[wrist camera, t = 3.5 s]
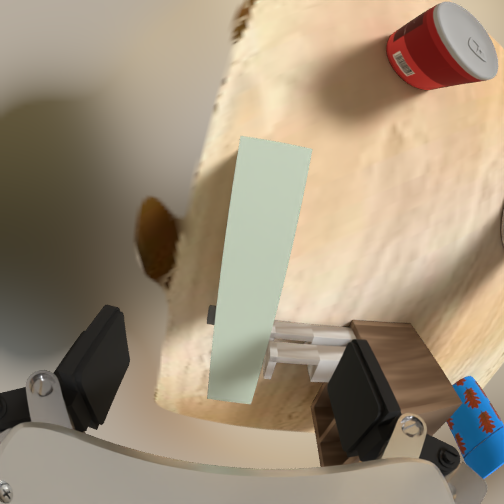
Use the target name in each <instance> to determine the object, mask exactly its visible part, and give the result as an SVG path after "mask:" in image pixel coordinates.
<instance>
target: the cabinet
mask: <svg viewBox="0 0 504 504" xmlns="http://www.w3.org/2000/svg"><path fill="white" fill-rule="evenodd" d="M274 338H277V339H286V340H297V341H305V342H304V344H298V343H287V342H277V341H274ZM353 339H365V340H367V341H368V343H369V345H370V347H371V349H372V351H373V353H374V355H375V357H376V359H377V361H378V363H379V365H380V367H381V369H382V371H383V373H384V375H385V377H386V379H387V381H388V383H389V385H390V387H391V389H392V391H393V394H394V396H395V398H396V400H397V402H398V404H399V406H400V409H401V414H402V415H403V414H406V413H413V414H416V415H418V416H420V417H421V418H422V419H423V420H424V422H425V423H426V426H427V434H429V435H431V436H432V435H433V434H434V433H435V432H436V431H437V430H438V429H439V428H440V427H441V426H442V425H443V424H444V423H445V422H446V421H447V420H448V419H449V418H450V417H451V416H452V415H453V413H454V412H455V411H456V410H457V409H458V408H459V407H460V405H461V404H462V401H461V400H460V398H459V396H458V395H457V393H456V391H455V390H454V388H453V386H452V385H451V383H450V382H449V380H448V378H447V377H446V375H445V374H444V372H443V370H442V369H441V367H440V366H439V364H438V363H437V361H436V360H435V358H434V357H433V355H432V354H431V352H430V351H429V349H428V348H427V346H426V345H425V344H424V342H423V341H422V339H421V338H420V336H419V335H418V334H417V332H416V331H415V329H414V328H413V327H412V325H411V324H410V323H390V322H374V321H360V320H352V322H351V325H350V327H336V326H324V325H314V324H304V323H294V322H285V321H277V320H274V323H273V327H272V331H271V335H270V338H269V342H268V346H267V349H266V353H265V359H264V362H263V371H264V379H271V377H272V374H273V371H274V368H275V365H276V362H279V363H291V364H306V365H308V372H309V377H310V382H323V384H322V386H321V388H320V390H319V392H318V394H317V396H316V398H315V399H314V401H313V403H312V405H311V410H312V416H313V422H314V428H315V434H316V440H317V447H318V453H319V459H320V466H321V467H327V466H336V465H345V464H353V463H359V461H360V459H359V456H355V457H347V453H346V452H344V451H343V449H342V445H341V441H340V437H339V433H338V429H337V425H336V421H335V418H334V414H333V410H332V406H331V402H330V399H329V395H328V391H327V386H328V383H329V381H330V379H331V377H332V375H333V373H334V371H335V369H336V367H337V365H338V363H339V361H340V359H341V357H342V355H343V353H344V350H345V348H346V346H347V344H348V343H349V342H351V341H352V340H353Z"/></svg>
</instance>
